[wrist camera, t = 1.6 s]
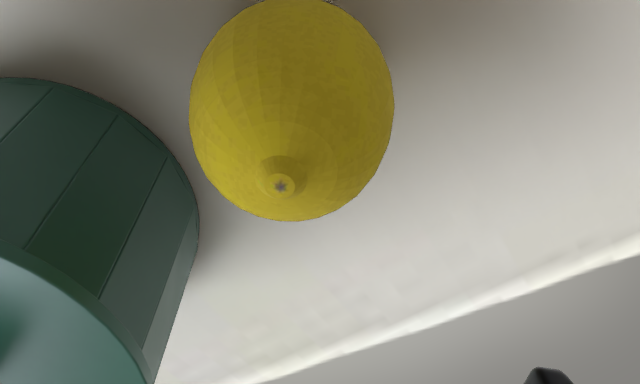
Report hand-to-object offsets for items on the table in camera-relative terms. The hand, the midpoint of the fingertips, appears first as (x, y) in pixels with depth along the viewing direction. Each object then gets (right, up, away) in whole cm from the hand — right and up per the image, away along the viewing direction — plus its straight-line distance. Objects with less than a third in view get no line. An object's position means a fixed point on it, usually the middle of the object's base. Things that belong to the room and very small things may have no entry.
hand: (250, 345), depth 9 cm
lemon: (+1, +7, +10) cm, 13 cm away
